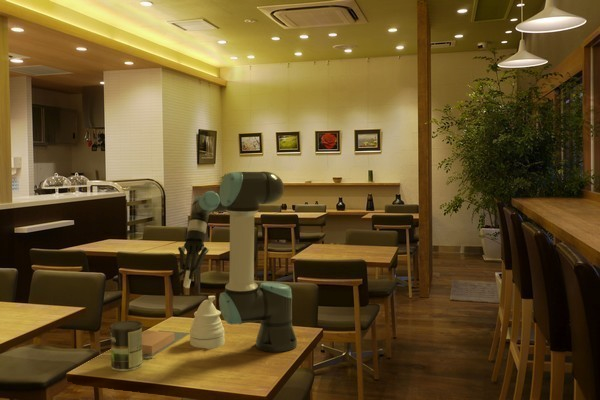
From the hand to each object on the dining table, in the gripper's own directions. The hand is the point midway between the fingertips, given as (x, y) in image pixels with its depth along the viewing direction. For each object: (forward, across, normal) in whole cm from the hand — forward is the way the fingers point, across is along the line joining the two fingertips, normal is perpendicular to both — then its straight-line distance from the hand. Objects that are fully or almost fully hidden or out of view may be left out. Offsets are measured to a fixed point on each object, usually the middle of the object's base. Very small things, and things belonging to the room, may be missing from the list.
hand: (186, 287), depth 223 cm
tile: (+20, +6, +3) cm, 21 cm away
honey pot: (+22, -13, 0) cm, 26 cm away
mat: (+24, +6, +6) cm, 25 cm away
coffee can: (+36, +4, +25) cm, 43 cm away
